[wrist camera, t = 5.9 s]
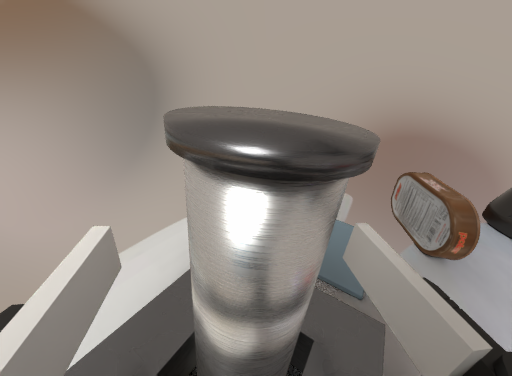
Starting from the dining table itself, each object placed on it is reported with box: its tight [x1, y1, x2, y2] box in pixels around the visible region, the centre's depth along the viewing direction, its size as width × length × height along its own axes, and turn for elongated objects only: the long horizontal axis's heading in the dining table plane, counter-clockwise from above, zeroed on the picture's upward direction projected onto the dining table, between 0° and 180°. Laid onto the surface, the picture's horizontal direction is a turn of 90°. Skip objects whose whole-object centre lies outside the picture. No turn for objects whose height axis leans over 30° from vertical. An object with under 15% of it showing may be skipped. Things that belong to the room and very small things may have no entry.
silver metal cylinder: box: [164, 106, 380, 376], centre depth 10 cm, size 6×6×17 cm
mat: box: [317, 220, 364, 300], centre depth 28 cm, size 12×12×1 cm
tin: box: [391, 172, 480, 260], centre depth 30 cm, size 15×3×8 cm, turn 171°
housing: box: [64, 269, 385, 376], centre depth 13 cm, size 14×14×4 cm
